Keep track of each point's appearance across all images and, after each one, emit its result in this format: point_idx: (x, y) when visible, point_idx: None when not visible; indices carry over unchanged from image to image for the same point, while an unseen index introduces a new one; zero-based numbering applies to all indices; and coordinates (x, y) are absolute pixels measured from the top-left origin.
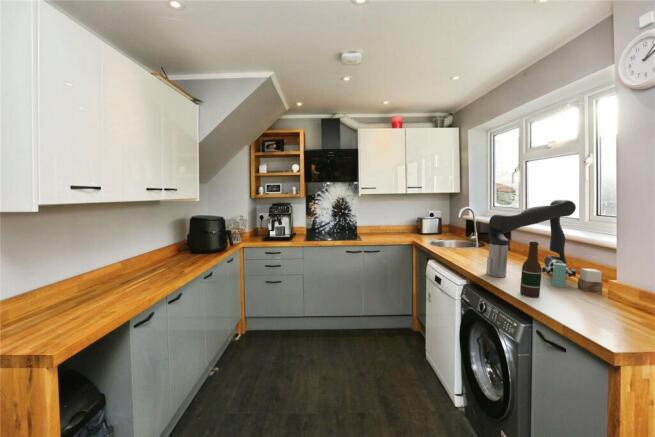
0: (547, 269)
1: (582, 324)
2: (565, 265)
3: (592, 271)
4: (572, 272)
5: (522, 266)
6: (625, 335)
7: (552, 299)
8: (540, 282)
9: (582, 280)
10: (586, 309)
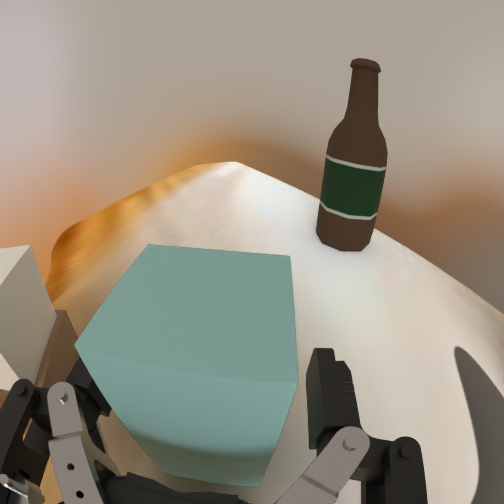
0: (348, 419)
1: (244, 178)
2: (156, 248)
3: (6, 249)
4: (56, 387)
5: (386, 155)
6: (201, 172)
7: (279, 230)
8: (322, 186)
9: (56, 347)
10: (210, 207)
